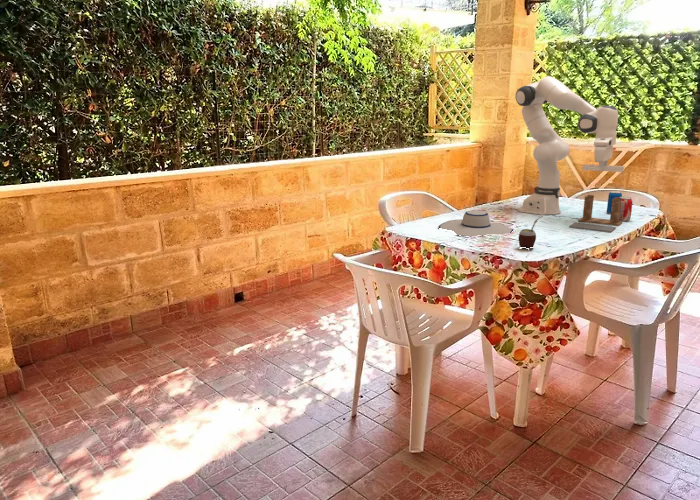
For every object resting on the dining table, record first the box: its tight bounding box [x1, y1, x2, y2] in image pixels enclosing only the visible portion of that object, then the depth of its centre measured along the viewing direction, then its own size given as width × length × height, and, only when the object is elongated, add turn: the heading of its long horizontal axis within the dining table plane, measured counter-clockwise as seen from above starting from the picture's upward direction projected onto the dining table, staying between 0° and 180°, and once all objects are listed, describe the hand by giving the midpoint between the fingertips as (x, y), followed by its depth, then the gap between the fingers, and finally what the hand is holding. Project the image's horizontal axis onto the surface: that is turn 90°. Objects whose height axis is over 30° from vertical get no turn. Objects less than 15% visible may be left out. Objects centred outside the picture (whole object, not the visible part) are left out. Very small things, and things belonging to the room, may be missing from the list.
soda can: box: [619, 196, 633, 223], centre depth 265 cm, size 7×7×12 cm
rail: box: [581, 164, 625, 173], centre depth 250 cm, size 18×3×2 cm, turn 52°
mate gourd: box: [518, 215, 544, 248], centre depth 219 cm, size 8×8×15 cm
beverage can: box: [606, 190, 623, 215], centre depth 281 cm, size 6×6×12 cm
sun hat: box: [438, 209, 514, 237], centre depth 256 cm, size 36×36×9 cm
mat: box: [568, 221, 617, 234], centre depth 253 cm, size 19×10×1 cm, turn 52°
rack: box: [578, 194, 624, 227], centre depth 263 cm, size 19×8×13 cm, turn 52°
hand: (602, 170), depth 250 cm, fingers closed on rail, 3 cm apart
